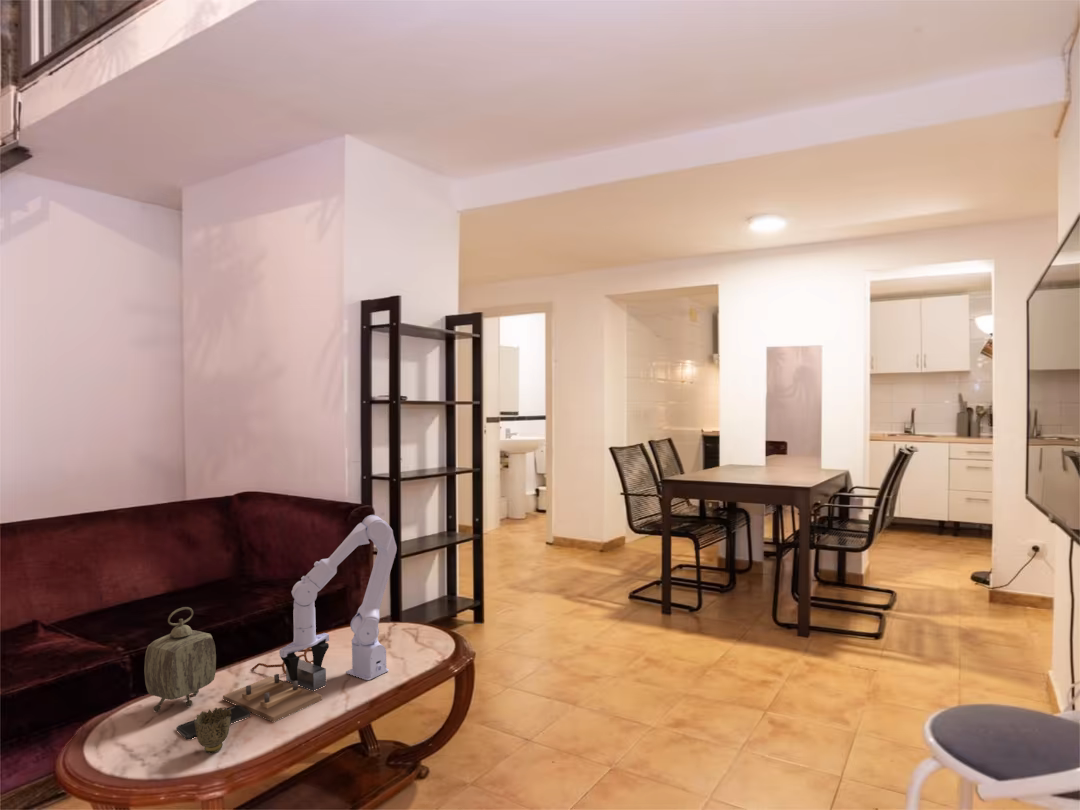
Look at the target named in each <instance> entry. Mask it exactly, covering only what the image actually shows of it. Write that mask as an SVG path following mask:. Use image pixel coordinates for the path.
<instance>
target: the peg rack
mask: <svg viewBox="0 0 1080 810" xmlns="http://www.w3.org/2000/svg"><path fill="white" fill-rule="evenodd" d="M223 699H224V700H227V701H229V702H231V703H234V704H236V705H240V706H242V707H243V708H245V709H246V710H248V711H250V713H251V712H253V713H252V714H254V715H256V714H257V715H256V716H258V715H260V716H261V718H263V717H264V718H263V719H265V718H266V720H267V719H269V720H268V721H270V720H271V721H270V722H272V721H273V722H272V723H275V722H277V721H279V720H278V719H280V718H282V717H284V718H286V717H288V716H290V715H293V714H295V713H296V711H297V712H299V711H301V710H303V709H305V708H307V706H308V707H310V706H312V705H313V703H314V704H316V703H319V702H320V701H323V695H322V694H319V693H316V692H315V691H314V692H313V691H311V690H308V689H305V688H303V687H300V686H298V681H293V684H292V683H289V682H287V681H286V680H282V679H280V674H279V673H275V674H274V676H272V675H271V676H269V677H265V678H263V679H261V680H258V681H256V682H254V683H250V684H248V685H245V686H243V687H241V688H239V689H236V690H233V691H231V692H228V693H225V694H223V695H222V700H223ZM224 700H223V701H224ZM319 700H320V701H319ZM229 702H228V703H229ZM315 702H316V703H315ZM231 703H230V704H231ZM311 704H312V705H311ZM309 705H310V706H309ZM302 708H303V709H302ZM300 709H301V710H300ZM298 710H299V711H298ZM294 712H295V713H294ZM292 713H293V714H292ZM289 714H290V715H289ZM287 715H288V716H287ZM260 716H259V717H260ZM285 716H286V717H285ZM282 719H283V718H282ZM276 720H277V721H276ZM280 720H281V719H280ZM274 721H275V722H274Z"/></svg>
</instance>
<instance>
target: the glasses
mask: <svg viewBox="0 0 1080 810" xmlns="http://www.w3.org/2000/svg"><path fill="white" fill-rule="evenodd" d="M301 652H302V653H303V654H300V655H297V656H298V657H300V658H302V657H303V658H304V661H305V662H308V663H311V662H313V659H312V660H311V661H309V660H308V658H307V653H308V652H312V649H311V647H309V648H306V649H303V650H301V651H298V652H297V653H301ZM311 664H312V663H311ZM260 666H261V667H265V668H266V669H267V668H281V670H282V672H283V674H284V675H286V665H285V663H284V662H283V661H282V663H280V664H265V663H262V662H261V663H260V662H259V663H257V664H255V665H254V666H252V668H251V669H253V670H252V671H254V670H255V669H257V668H258V667H260Z"/></svg>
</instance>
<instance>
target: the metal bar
mask: <svg viewBox="0 0 1080 810" xmlns="http://www.w3.org/2000/svg"><path fill="white" fill-rule="evenodd" d="M285 671H286V674H285V677H286V678H285V682H287V681H289V682H291V683H290V684H292V683H293V680H290V677H289V673H288V670H287V667H286V666H285ZM296 681H298V685H300V686H303V687H305V688H308V689H310V690H309V691H311V690H313V691H314V690H316V689H319V688H321V687H323V686H325V685H326V686H327V668H325V667H322V666H321V667H320V666H317V665H314V664H313V663H308V662H306V661H305V660H301V659H299V662H298V667H297V680H296ZM289 682H288V683H289ZM300 686H299V687H300ZM326 686H325V687H326ZM303 687H302V688H303ZM305 688H304V689H305ZM323 688H324V687H323ZM308 689H307V690H308ZM321 689H322V688H321ZM319 690H320V689H319ZM313 691H312V692H313ZM316 691H317V690H316ZM314 692H315V691H314Z"/></svg>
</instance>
